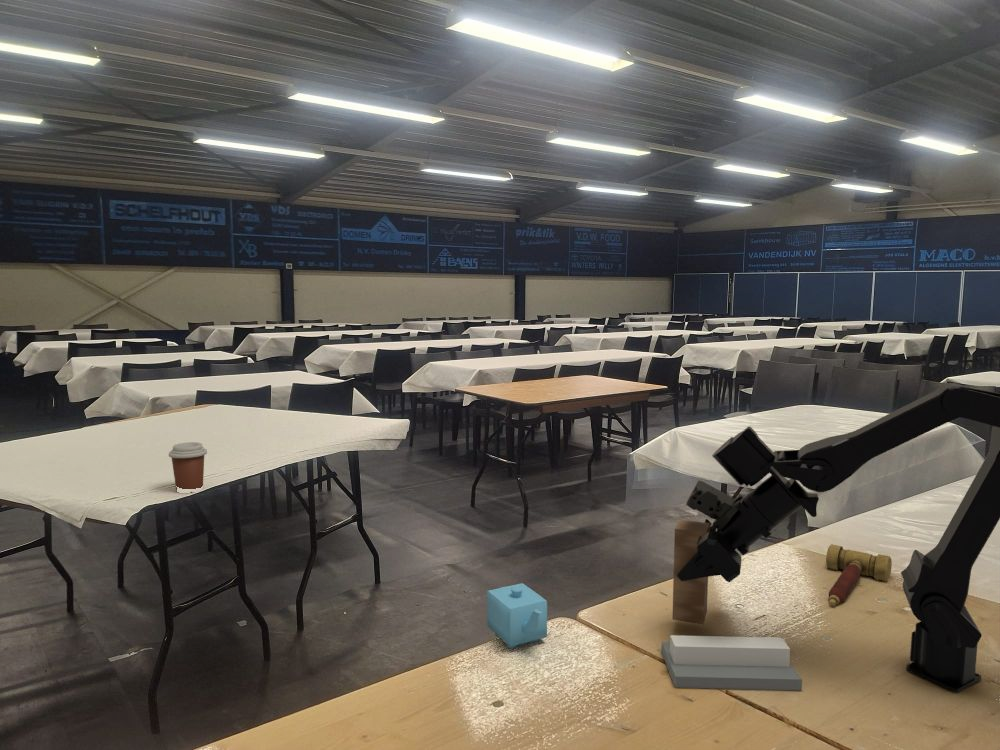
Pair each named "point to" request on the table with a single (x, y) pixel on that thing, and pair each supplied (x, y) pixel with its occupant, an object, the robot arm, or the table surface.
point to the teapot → (516, 614)
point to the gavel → (854, 570)
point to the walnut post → (690, 592)
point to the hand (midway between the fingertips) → (681, 572)
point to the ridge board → (731, 676)
